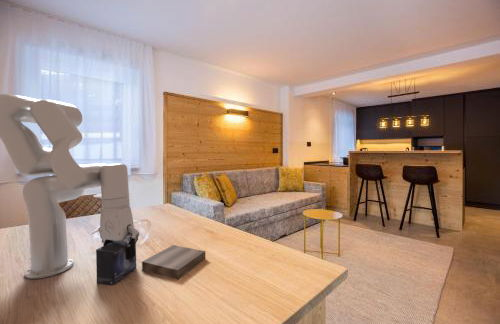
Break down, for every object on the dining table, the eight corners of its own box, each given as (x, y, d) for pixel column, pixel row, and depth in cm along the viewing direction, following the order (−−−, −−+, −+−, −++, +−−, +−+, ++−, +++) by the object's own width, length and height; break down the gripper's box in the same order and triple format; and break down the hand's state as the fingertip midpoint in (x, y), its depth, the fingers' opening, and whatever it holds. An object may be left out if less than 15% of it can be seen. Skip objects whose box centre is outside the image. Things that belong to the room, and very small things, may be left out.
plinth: (142, 270, 79) (141, 261, 79) (173, 252, 93) (173, 245, 93) (178, 279, 74) (177, 270, 73) (205, 259, 87) (205, 251, 87)
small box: (114, 286, 70) (112, 251, 70) (95, 283, 72) (94, 249, 71) (137, 268, 81) (136, 238, 80) (121, 267, 82) (120, 237, 82)
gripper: (86, 204, 75) (90, 257, 76) (125, 206, 68) (129, 265, 69) (108, 199, 82) (112, 248, 83) (145, 201, 75) (149, 254, 76)
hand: (119, 255), depth 76 cm, fingers open, 9 cm apart
